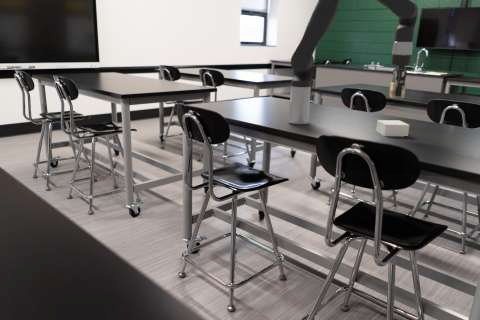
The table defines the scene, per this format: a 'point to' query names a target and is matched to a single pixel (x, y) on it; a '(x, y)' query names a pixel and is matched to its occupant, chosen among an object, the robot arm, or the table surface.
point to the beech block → (393, 91)
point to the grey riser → (392, 128)
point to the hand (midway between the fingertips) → (396, 95)
